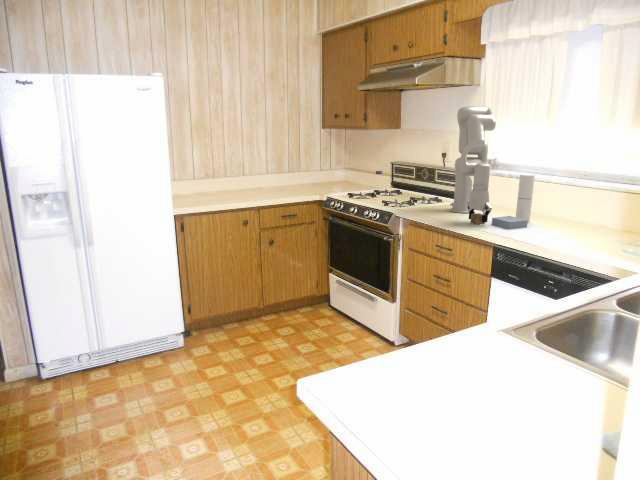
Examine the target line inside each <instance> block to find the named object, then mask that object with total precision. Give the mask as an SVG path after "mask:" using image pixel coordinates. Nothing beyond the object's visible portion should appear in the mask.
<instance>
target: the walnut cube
mask: <svg viewBox="0 0 640 480" xmlns="http://www.w3.org/2000/svg"><path fill="white" fill-rule="evenodd" d="M482 215H484V214H483V213H480V212H478V213H477V212H476V213H475V214H471V219H470V224H472V223H473V224H472V225H475V224H476V226H480V224H482V225H485V224H486V222H484V223H482Z"/></svg>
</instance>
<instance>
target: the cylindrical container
mask: <svg viewBox="0 0 640 480" xmlns="http://www.w3.org/2000/svg"><path fill="white" fill-rule="evenodd" d="M535 177H536V176H535V174H533V173H519V182H518V191H517V202H516V211H515V217H516V218H521V219H525V220H528V223H530V222H531V215H532V213H531V212H532V205H533V204H532V203H533V193H534V184H535Z"/></svg>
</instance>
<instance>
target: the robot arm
mask: <svg viewBox="0 0 640 480" xmlns="http://www.w3.org/2000/svg"><path fill="white" fill-rule="evenodd" d="M456 115H457V116H456V118H457V124H458V128H459V133H458V134H459V135H458V137H459V138H458V152H459V154H460V157H458V158H457V159H456V160H455V162H454V173H455V175H454V176H455V177H454V178H455V180H454V181H455V182H454V194H453V202H452V203H450V204H449V205H450V206H452V207H451V208H450V212H453V213H459V214H468V220H471V214H476V213H475V212H476V211H479V212H480V211H481V212H482V214H484V215H482V223H484V222H485V223H488V218H489V215H490V213H491V212H492V210H493V207H492V206H491V204H490V193H489V183H490V171H491V166H490V163H487V162H488V148H489V146H488V141H487V139H486V134H485V133H486V131H487V132H491V131H494V130H495V128H496V125H497V120H496V116H495V114H494V112H493V111H492V108H491V107H489V106H479V105H478V106H474V105H473V106H471V105H469V106H462V107H460V108H459V109H458V111H457V114H456ZM468 155H470V156H468ZM471 155H472V156H471ZM473 155H475V157H474V156H473ZM471 177H473V181H472V178H471Z"/></svg>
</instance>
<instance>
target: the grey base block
mask: <svg viewBox="0 0 640 480" xmlns="http://www.w3.org/2000/svg"><path fill="white" fill-rule="evenodd" d="M491 219H492V220H491V226H496V227H499V228H504V229H507V230H516V229H522V228H524V229H525V228H528V223H529V222H528V220H525V219H521V218H516V216H512V215H505V216H498V217H497V216H495V217H492V218H491Z"/></svg>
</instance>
